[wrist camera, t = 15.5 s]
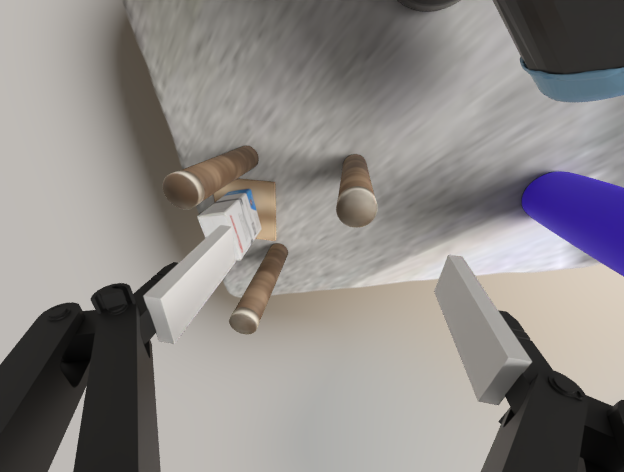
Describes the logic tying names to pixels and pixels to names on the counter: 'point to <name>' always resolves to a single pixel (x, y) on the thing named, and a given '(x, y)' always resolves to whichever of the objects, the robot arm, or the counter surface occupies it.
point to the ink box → (233, 219)
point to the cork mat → (257, 203)
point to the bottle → (581, 214)
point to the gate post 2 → (356, 193)
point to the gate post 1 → (208, 177)
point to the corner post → (258, 291)
